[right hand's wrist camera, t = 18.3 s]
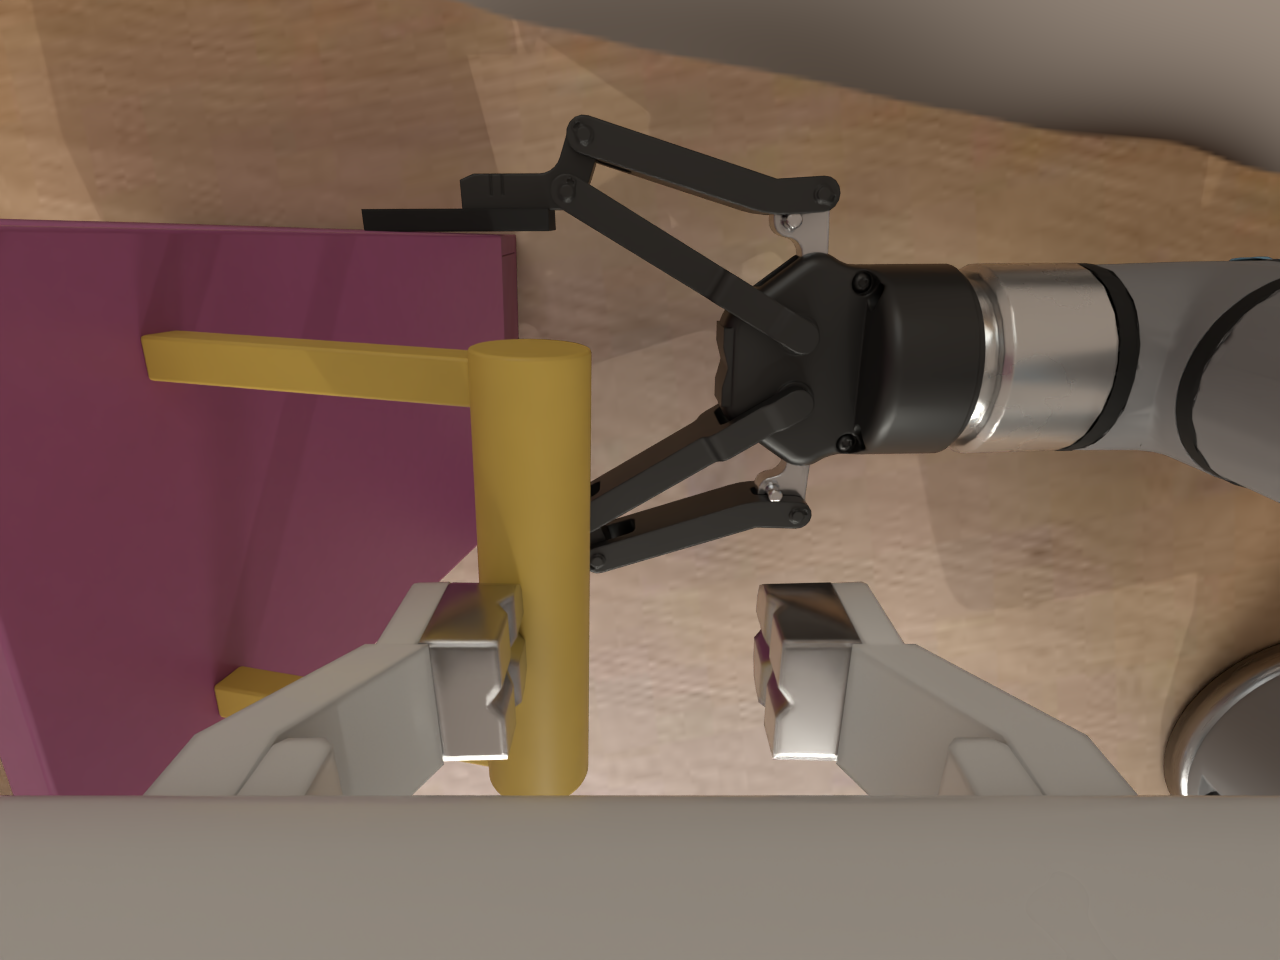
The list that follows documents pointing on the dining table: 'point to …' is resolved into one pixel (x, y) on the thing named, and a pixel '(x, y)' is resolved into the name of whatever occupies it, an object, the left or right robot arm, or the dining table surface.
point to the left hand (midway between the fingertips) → (395, 367)
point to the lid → (269, 483)
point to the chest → (506, 240)
